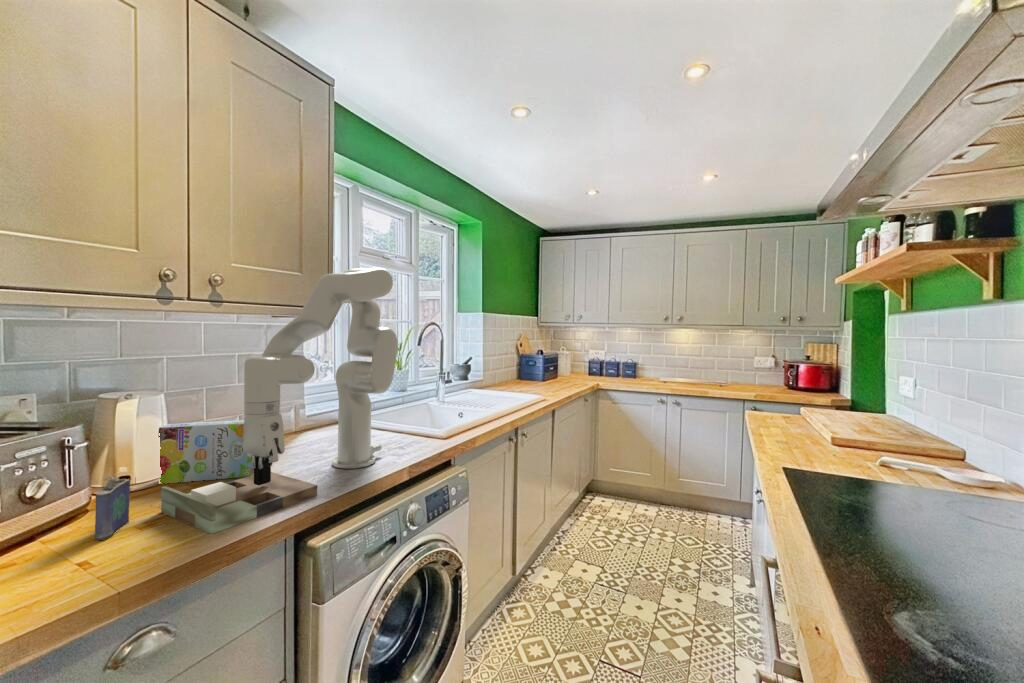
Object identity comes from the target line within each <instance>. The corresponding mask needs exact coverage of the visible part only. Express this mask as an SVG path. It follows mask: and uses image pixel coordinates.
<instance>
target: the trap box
mask: <svg viewBox="0 0 1024 683" xmlns="http://www.w3.org/2000/svg"><path fill="white" fill-rule="evenodd" d="M225 483H226V484H229V485H232V486H235V487H236V500H235V501H232V502H228V503H225V504H222V505H219V506H216V505H214V504H211V503H209V502H206V501H203V500H201V499H198V498H195V497H193V496H191V492H187V493H185V492H182V491H180V490H177V489H175V488H172V487H169V486H161V488H160V489H161V496H160V497H161V499H160V500H161V502H160V504H161V506H160V507H161V508H160V510H161V511H160V512H161V513H162V514H165V515H167V516H169V517H171V518H174V519H175V520H178V521H180V522H183V523H184V524H187V525H190V526H192V527H194V528H196V529H198V530H201V531H203V532H205V533H208V534H210V535H213V534H215V533H219V532H222V531H224V530H227V529H230V528H232V527H235V526H238V525H240V524H243V523H246V522H248V521H251V520H253V519H257V518H259V517H262V516H265V515H269V514H270V513H273V512H275V511H278V510H282V509H284V508H286V507H289V506H292V505H295V504H297V503H300V502H302V501H306V500H308V499H311V498H314V497H316V496H318V484H314V483H311V482H307V481H304V480H300V479H296V478H293V477H291V476H287V475H283V474H279V473H277V472H272V471H271V481H270V482H268V483H265V484H262V485H256V484H254V474H252V476H249V477H240V478H237V479H235V480H232V481H228V482H225Z"/></svg>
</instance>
